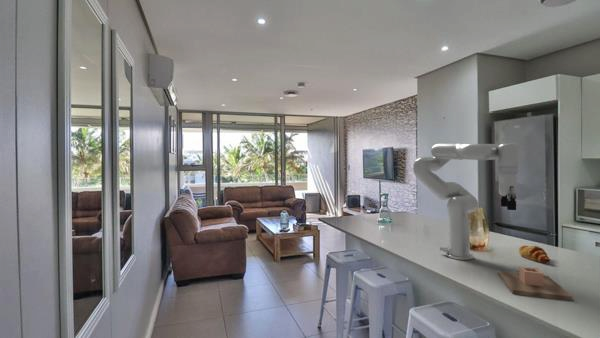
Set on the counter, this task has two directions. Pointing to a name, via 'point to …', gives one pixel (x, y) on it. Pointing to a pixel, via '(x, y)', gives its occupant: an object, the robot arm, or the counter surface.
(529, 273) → the collar block
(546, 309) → the counter surface
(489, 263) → the counter surface
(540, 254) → the croissant
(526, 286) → the walnut board
